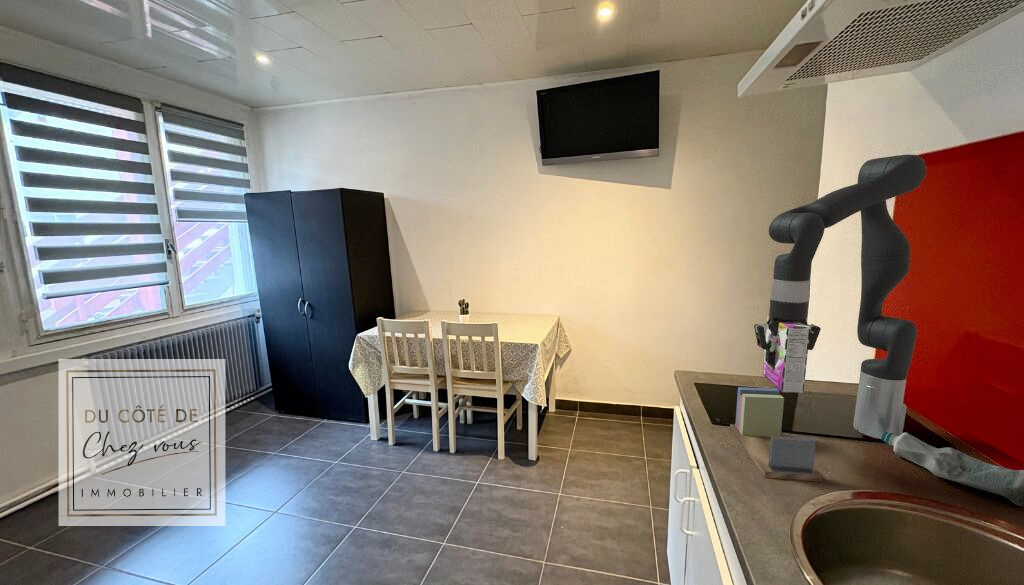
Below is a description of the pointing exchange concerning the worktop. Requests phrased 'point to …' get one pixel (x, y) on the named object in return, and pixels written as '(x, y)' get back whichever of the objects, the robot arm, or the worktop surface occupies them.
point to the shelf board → (767, 456)
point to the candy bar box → (789, 357)
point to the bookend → (792, 455)
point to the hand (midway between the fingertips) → (783, 365)
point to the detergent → (959, 467)
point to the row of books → (759, 412)
